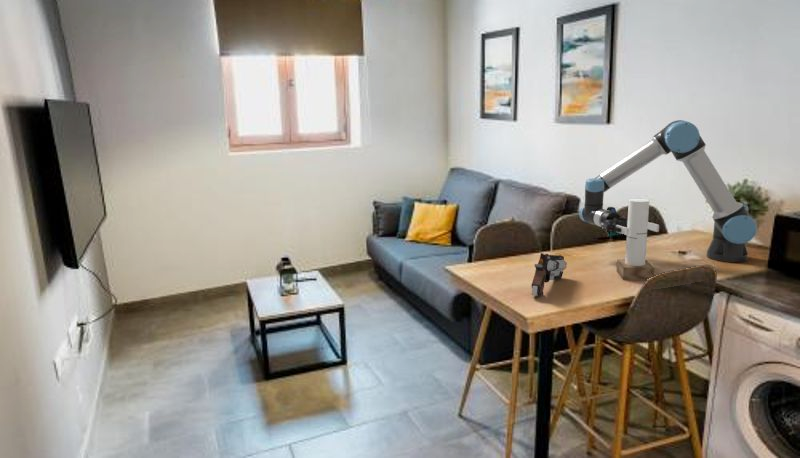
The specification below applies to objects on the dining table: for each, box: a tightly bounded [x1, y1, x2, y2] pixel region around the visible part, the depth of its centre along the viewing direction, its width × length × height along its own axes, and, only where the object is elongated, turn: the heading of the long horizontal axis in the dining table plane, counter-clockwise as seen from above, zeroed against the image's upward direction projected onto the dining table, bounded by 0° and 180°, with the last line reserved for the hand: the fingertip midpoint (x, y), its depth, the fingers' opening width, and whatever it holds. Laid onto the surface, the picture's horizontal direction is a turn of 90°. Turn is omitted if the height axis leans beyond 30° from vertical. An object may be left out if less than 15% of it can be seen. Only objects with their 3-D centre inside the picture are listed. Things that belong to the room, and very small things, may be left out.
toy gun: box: [531, 253, 568, 297], centre depth 205 cm, size 5×28×15 cm, turn 147°
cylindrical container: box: [624, 198, 650, 266], centre depth 212 cm, size 7×7×25 cm
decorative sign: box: [603, 206, 624, 238], centre depth 276 cm, size 19×2×15 cm, turn 115°
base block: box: [615, 258, 655, 281], centre depth 215 cm, size 11×11×5 cm
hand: (643, 230), depth 208 cm, fingers open, 13 cm apart
